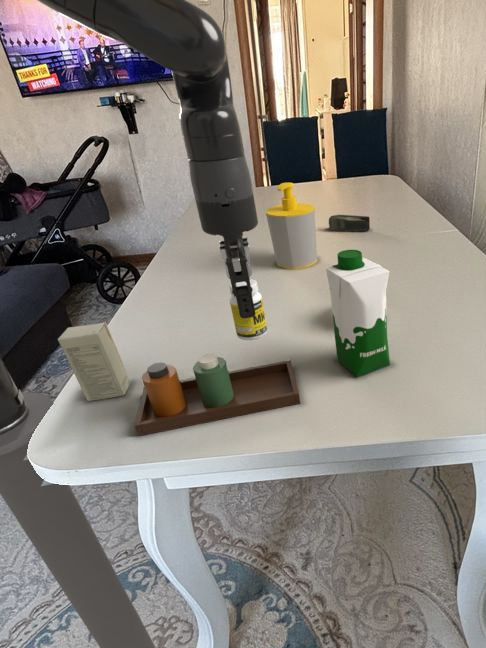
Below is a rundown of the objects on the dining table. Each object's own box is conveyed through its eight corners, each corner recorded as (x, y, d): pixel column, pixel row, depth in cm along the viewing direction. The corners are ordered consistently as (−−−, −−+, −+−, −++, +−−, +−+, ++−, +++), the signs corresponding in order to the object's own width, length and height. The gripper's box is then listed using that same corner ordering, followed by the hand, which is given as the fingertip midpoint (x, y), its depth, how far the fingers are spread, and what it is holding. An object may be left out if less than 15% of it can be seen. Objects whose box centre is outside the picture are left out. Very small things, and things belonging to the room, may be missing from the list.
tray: (138, 436, 70) (134, 426, 69) (147, 396, 79) (143, 386, 78) (300, 403, 75) (299, 393, 74) (292, 369, 84) (290, 359, 83)
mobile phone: (369, 214, 153) (325, 213, 156) (368, 217, 151) (323, 216, 153) (370, 229, 156) (326, 228, 158) (368, 232, 153) (324, 231, 156)
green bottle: (202, 410, 74) (190, 369, 70) (202, 392, 78) (191, 353, 75) (234, 403, 75) (224, 363, 71) (233, 386, 80) (223, 347, 76)
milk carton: (370, 345, 90) (364, 244, 80) (397, 365, 83) (395, 258, 73) (330, 359, 86) (319, 255, 76) (355, 382, 80) (346, 271, 69)
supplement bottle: (260, 342, 71) (250, 290, 66) (231, 340, 71) (220, 289, 67) (272, 327, 75) (264, 277, 70) (245, 325, 75) (235, 276, 71)
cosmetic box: (131, 382, 83) (108, 321, 77) (125, 396, 79) (100, 333, 73) (93, 387, 82) (66, 326, 76) (84, 402, 79) (56, 338, 72)
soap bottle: (264, 266, 130) (250, 188, 119) (290, 251, 140) (280, 177, 129) (304, 272, 125) (294, 190, 114) (328, 256, 135) (321, 179, 124)
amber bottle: (152, 420, 73) (137, 379, 69) (155, 401, 77) (141, 361, 73) (185, 413, 74) (172, 372, 70) (187, 395, 78) (175, 356, 74)
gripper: (196, 185, 67) (221, 294, 76) (191, 209, 55) (222, 335, 64) (249, 180, 69) (268, 287, 78) (256, 202, 57) (276, 325, 66)
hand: (247, 308), depth 71 cm, fingers closed on supplement bottle, 4 cm apart
